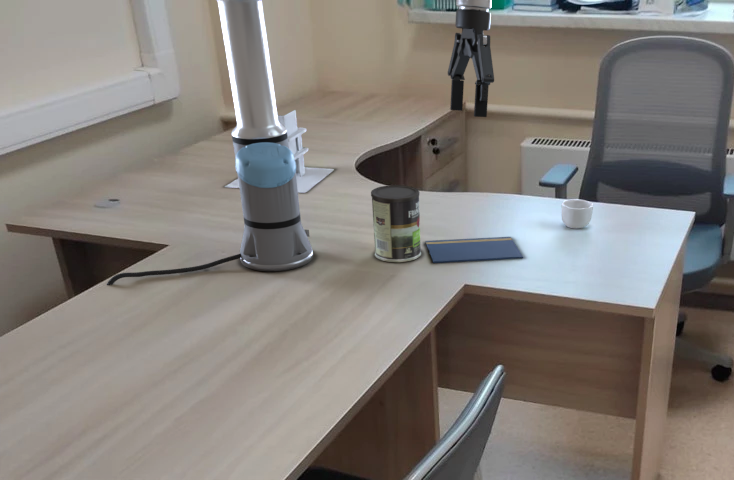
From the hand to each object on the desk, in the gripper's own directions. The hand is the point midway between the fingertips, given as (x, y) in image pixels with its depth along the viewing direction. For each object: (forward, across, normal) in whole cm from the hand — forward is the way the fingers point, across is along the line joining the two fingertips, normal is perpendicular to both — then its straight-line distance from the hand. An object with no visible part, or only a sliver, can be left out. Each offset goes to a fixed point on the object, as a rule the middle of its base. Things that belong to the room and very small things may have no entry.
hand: (467, 113), depth 189 cm
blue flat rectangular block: (+28, -12, +2) cm, 31 cm away
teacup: (+25, -5, -28) cm, 38 cm away
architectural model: (+24, +60, +29) cm, 71 cm away
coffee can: (+30, -8, +18) cm, 36 cm away
